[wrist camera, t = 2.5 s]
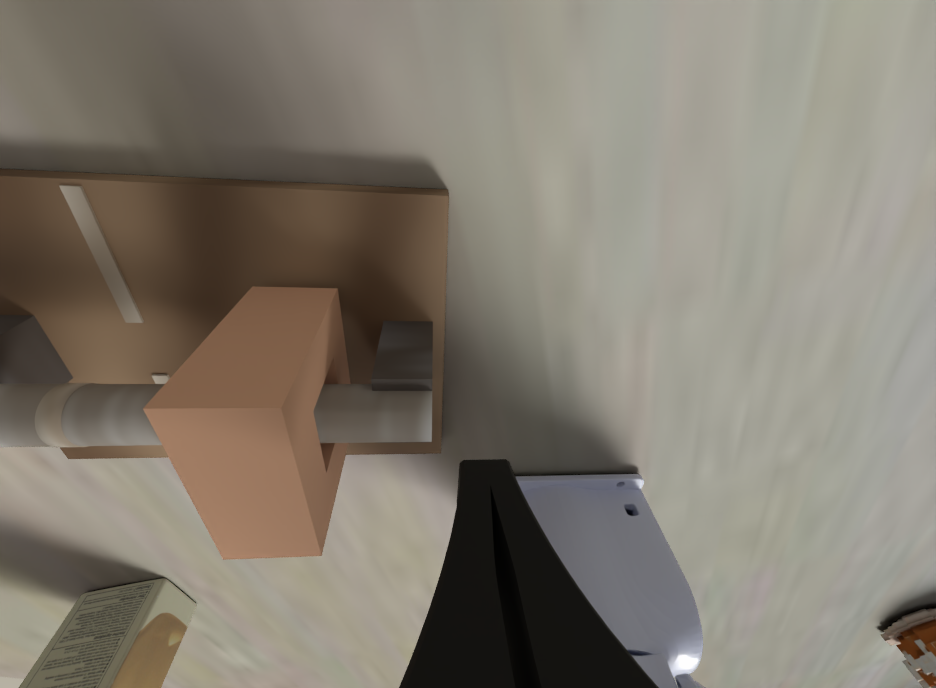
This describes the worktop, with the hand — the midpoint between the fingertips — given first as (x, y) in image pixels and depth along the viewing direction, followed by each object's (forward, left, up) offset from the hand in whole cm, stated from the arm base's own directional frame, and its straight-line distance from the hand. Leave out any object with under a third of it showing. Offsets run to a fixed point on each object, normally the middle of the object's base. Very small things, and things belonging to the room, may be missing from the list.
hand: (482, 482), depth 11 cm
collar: (+6, 0, -6) cm, 9 cm away
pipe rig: (+10, 0, -8) cm, 13 cm away
